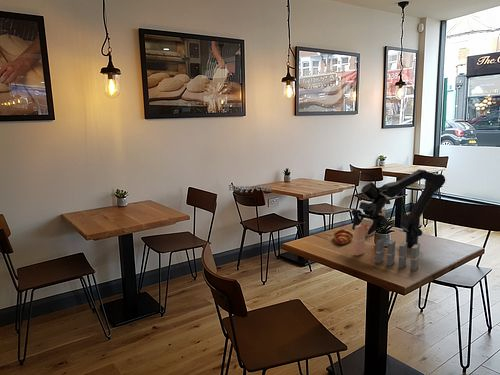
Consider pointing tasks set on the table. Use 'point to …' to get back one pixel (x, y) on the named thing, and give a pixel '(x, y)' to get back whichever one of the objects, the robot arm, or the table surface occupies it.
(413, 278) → the table surface
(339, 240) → the croissant
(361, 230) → the domino
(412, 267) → the domino
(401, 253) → the domino
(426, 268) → the table surface
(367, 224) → the stack of blocks
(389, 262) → the domino
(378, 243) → the domino
